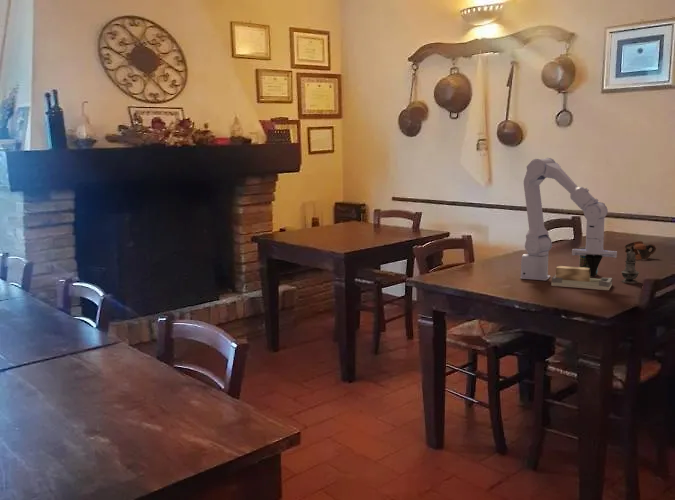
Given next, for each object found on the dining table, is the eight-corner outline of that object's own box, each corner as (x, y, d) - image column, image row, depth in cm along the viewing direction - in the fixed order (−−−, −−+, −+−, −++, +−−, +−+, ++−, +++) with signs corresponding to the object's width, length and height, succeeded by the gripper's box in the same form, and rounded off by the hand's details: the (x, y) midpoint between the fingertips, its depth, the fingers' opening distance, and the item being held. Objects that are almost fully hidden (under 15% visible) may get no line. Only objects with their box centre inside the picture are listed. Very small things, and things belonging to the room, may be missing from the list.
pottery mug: (629, 261, 280) (623, 243, 283) (627, 267, 288) (622, 249, 291) (660, 254, 277) (653, 236, 280) (657, 261, 285) (651, 243, 288)
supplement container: (592, 277, 249) (593, 249, 247) (575, 275, 254) (576, 247, 252) (601, 274, 253) (602, 247, 252) (584, 272, 258) (585, 245, 257)
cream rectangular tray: (551, 285, 238) (551, 278, 237) (556, 280, 245) (556, 273, 245) (608, 290, 229) (609, 282, 228) (612, 284, 236) (612, 277, 236)
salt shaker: (640, 283, 237) (642, 250, 235) (622, 283, 238) (624, 250, 236) (636, 280, 243) (638, 247, 241) (619, 279, 244) (620, 247, 242)
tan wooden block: (555, 281, 239) (556, 267, 238) (557, 279, 242) (558, 265, 242) (588, 283, 234) (588, 269, 233) (589, 281, 237) (590, 267, 236)
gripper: (618, 237, 232) (617, 275, 235) (574, 235, 239) (573, 272, 242) (616, 240, 226) (614, 279, 229) (571, 238, 233) (570, 276, 235)
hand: (593, 276), depth 235 cm, fingers closed
